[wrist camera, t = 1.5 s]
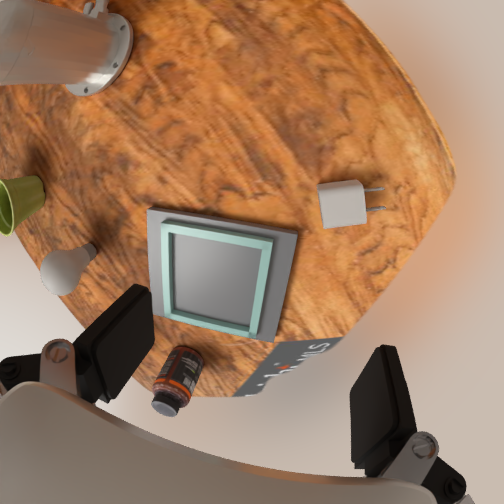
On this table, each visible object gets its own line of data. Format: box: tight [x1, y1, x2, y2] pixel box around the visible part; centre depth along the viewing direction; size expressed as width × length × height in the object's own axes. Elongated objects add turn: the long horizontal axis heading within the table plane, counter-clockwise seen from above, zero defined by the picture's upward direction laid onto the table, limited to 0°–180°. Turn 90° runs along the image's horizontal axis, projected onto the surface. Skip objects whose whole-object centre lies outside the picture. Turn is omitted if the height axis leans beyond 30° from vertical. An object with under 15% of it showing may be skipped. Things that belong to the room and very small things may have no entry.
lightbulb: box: [40, 243, 96, 295], centre depth 32 cm, size 6×6×11 cm
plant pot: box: [0, 175, 45, 236], centre depth 31 cm, size 9×9×9 cm
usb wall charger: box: [317, 179, 386, 229], centre depth 26 cm, size 4×7×4 cm, turn 103°
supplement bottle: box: [151, 347, 204, 417], centre depth 37 cm, size 6×6×11 cm
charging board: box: [147, 207, 298, 343], centre depth 34 cm, size 16×18×2 cm
